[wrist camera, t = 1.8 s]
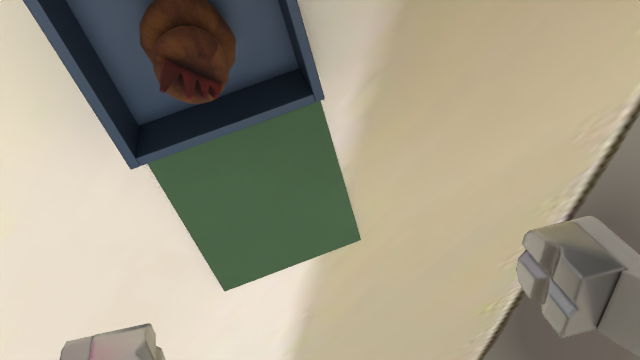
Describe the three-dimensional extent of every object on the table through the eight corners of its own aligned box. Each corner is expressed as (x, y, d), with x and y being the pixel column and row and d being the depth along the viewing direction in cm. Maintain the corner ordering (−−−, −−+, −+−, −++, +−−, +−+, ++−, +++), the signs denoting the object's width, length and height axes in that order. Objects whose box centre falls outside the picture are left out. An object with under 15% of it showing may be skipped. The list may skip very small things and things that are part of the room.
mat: (317, 91, 46) (318, 94, 45) (359, 236, 58) (360, 240, 57) (144, 154, 45) (143, 157, 44) (224, 287, 57) (224, 291, 57)
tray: (251, -123, 35) (264, -116, 30) (308, 71, 44) (325, 99, 40) (26, -47, 34) (5, -28, 29) (134, 134, 44) (130, 169, 39)
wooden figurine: (126, 13, 37) (108, 96, 26) (181, -39, 36) (188, 23, 25) (191, 74, 41) (201, 171, 30) (242, 29, 40) (273, 111, 28)
